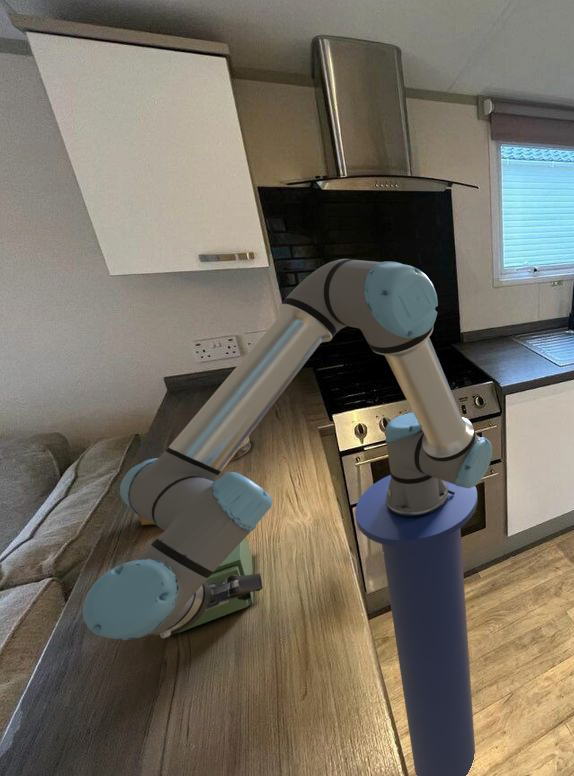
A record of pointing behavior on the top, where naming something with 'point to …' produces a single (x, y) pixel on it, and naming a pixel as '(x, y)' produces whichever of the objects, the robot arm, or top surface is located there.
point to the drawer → (223, 606)
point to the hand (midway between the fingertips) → (207, 605)
